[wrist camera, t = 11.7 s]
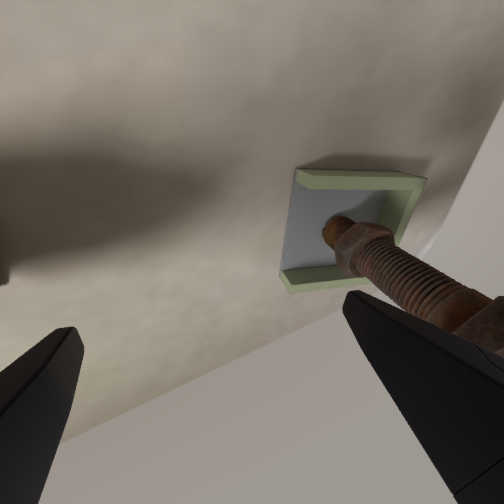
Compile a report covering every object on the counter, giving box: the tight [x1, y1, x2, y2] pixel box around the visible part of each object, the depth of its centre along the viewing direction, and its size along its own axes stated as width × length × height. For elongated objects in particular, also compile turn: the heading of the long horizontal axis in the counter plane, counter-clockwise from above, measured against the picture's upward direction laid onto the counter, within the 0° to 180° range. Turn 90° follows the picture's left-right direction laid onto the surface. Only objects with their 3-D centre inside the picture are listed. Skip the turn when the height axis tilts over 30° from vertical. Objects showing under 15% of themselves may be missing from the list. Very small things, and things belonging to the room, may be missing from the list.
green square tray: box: [279, 168, 427, 294], centre depth 22 cm, size 11×11×3 cm
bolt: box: [321, 216, 504, 357], centre depth 17 cm, size 6×5×15 cm
